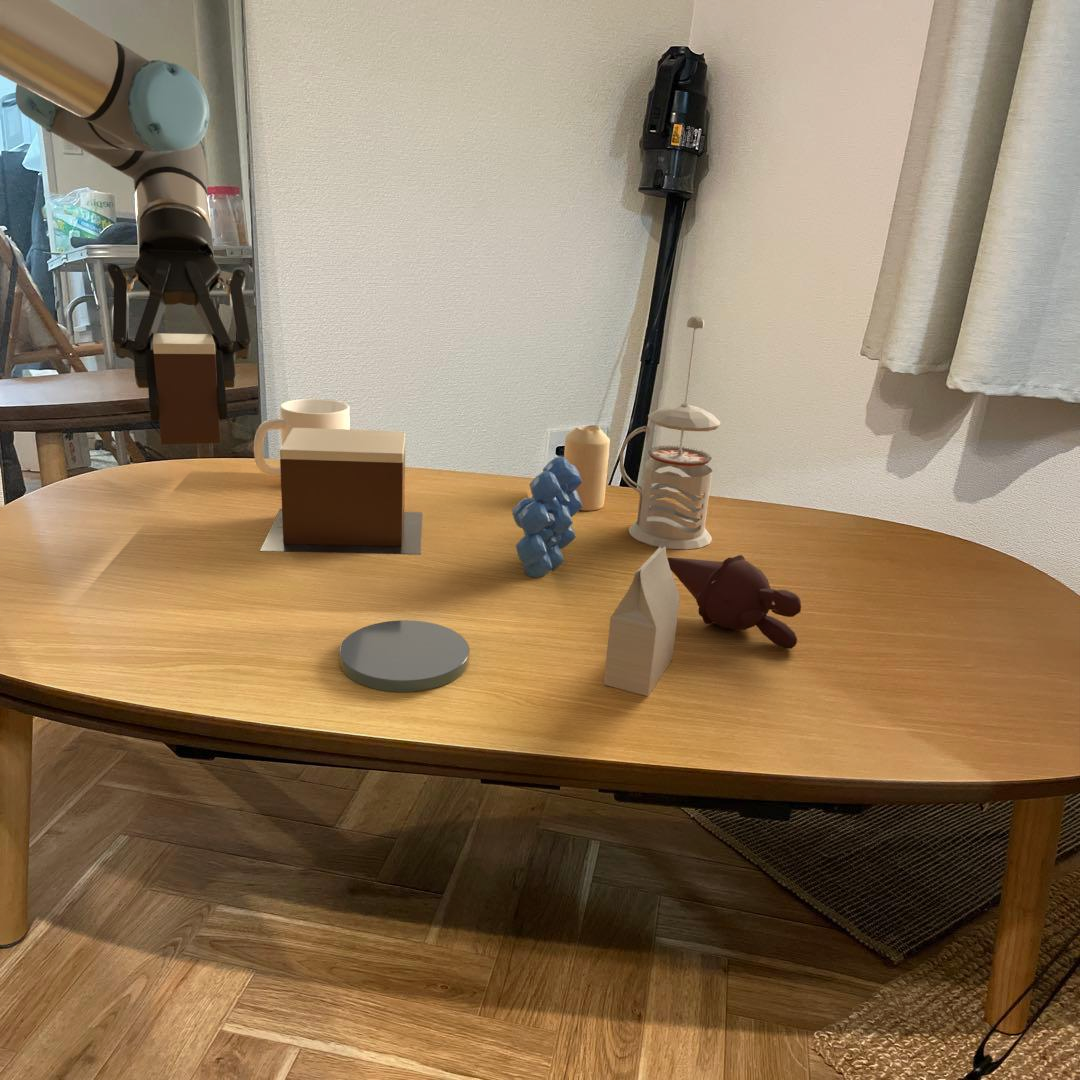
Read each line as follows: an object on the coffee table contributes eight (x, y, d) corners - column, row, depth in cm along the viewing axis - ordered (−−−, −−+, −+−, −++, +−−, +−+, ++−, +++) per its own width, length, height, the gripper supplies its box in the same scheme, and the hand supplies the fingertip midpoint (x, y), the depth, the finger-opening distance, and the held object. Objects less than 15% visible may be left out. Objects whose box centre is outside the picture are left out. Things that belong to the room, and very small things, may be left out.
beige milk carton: (671, 660, 76) (686, 550, 72) (648, 696, 70) (662, 578, 66) (630, 649, 77) (642, 541, 73) (603, 684, 71) (615, 568, 68)
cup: (361, 489, 113) (360, 410, 110) (268, 502, 106) (264, 418, 103) (334, 472, 119) (332, 396, 116) (244, 483, 112) (240, 403, 109)
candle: (581, 494, 117) (587, 419, 114) (612, 505, 114) (620, 428, 110) (551, 502, 113) (557, 424, 110) (583, 514, 110) (590, 434, 106)
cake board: (260, 560, 90) (259, 550, 90) (280, 516, 102) (280, 508, 102) (420, 563, 92) (420, 554, 92) (422, 520, 104) (422, 512, 104)
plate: (333, 692, 67) (332, 680, 67) (345, 629, 77) (345, 619, 77) (471, 692, 69) (472, 680, 68) (466, 630, 78) (467, 620, 78)
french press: (712, 553, 100) (745, 325, 91) (609, 541, 102) (631, 315, 93) (711, 525, 109) (741, 315, 100) (616, 514, 111) (637, 306, 102)
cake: (283, 544, 92) (279, 449, 88) (295, 514, 100) (292, 427, 97) (401, 546, 93) (402, 453, 90) (404, 517, 102) (405, 431, 98)
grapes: (532, 547, 98) (539, 440, 94) (589, 560, 96) (599, 451, 92) (482, 582, 88) (487, 465, 84) (544, 598, 86) (553, 478, 82)
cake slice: (161, 444, 89) (152, 343, 86) (161, 429, 95) (153, 333, 91) (220, 443, 91) (214, 343, 88) (217, 427, 97) (211, 334, 93)
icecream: (639, 545, 83) (776, 616, 73) (691, 513, 87) (827, 576, 77) (639, 604, 87) (769, 678, 77) (689, 571, 91) (818, 637, 81)
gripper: (262, 257, 104) (284, 430, 95) (83, 249, 97) (89, 434, 89) (265, 209, 97) (288, 390, 89) (73, 197, 91) (78, 392, 82)
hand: (189, 412), depth 89 cm, fingers closed on cake slice, 6 cm apart
